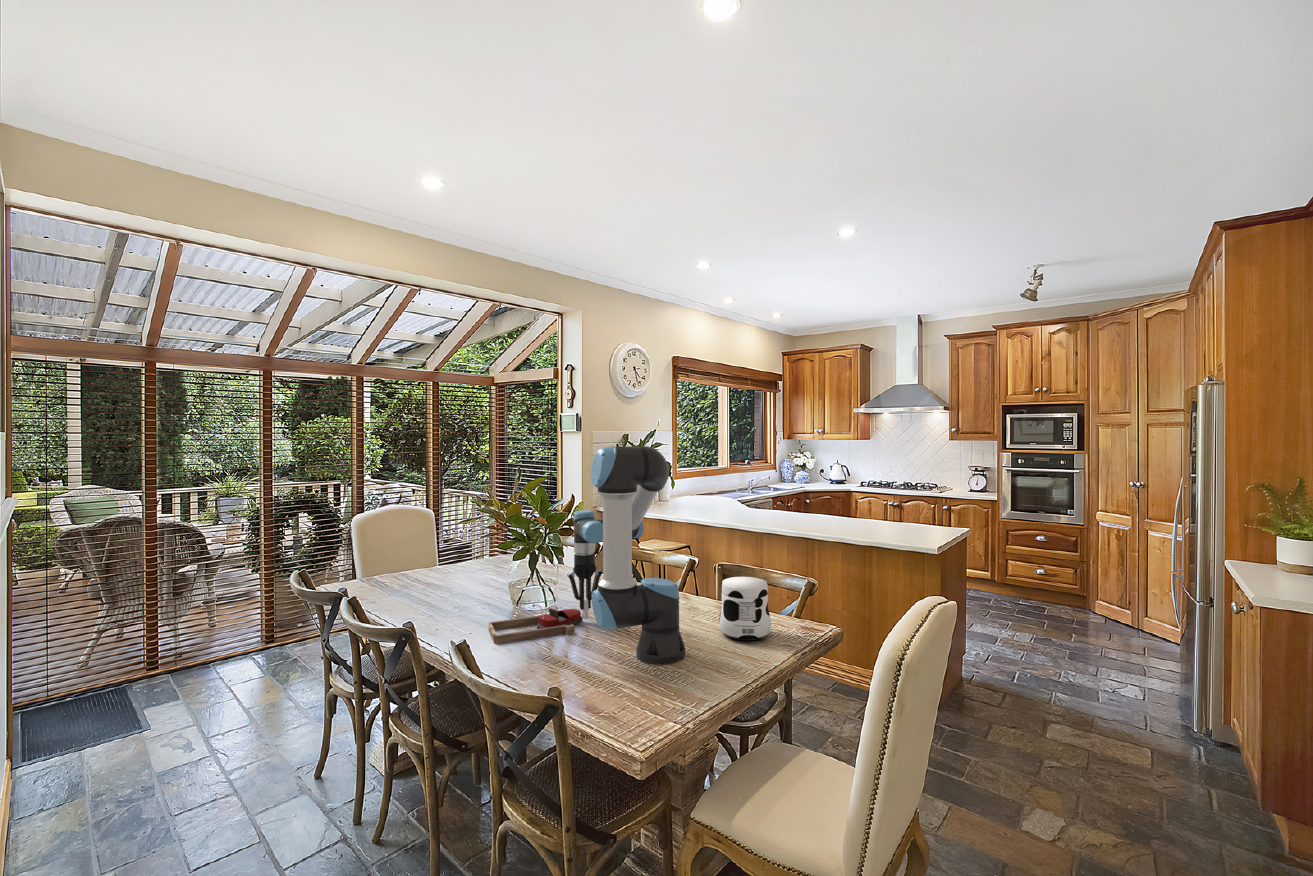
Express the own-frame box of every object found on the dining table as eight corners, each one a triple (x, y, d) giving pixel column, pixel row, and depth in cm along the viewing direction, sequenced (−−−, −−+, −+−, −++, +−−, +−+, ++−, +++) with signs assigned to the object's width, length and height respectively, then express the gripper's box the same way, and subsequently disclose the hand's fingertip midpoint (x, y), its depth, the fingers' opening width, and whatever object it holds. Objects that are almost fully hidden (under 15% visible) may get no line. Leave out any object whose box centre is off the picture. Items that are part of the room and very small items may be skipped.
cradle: (575, 633, 198) (575, 626, 198) (495, 646, 187) (495, 638, 187) (561, 617, 215) (561, 611, 215) (487, 628, 205) (487, 621, 205)
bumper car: (588, 623, 209) (587, 595, 209) (541, 637, 195) (541, 607, 195) (571, 617, 216) (571, 590, 216) (525, 630, 202) (525, 602, 202)
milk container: (745, 623, 206) (744, 573, 206) (782, 636, 192) (781, 583, 192) (708, 633, 196) (708, 581, 196) (745, 648, 182) (744, 592, 182)
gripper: (598, 549, 215) (599, 612, 215) (564, 552, 210) (565, 617, 210) (604, 553, 208) (605, 618, 208) (569, 556, 203) (570, 623, 203)
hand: (585, 617), depth 209 cm, fingers closed
